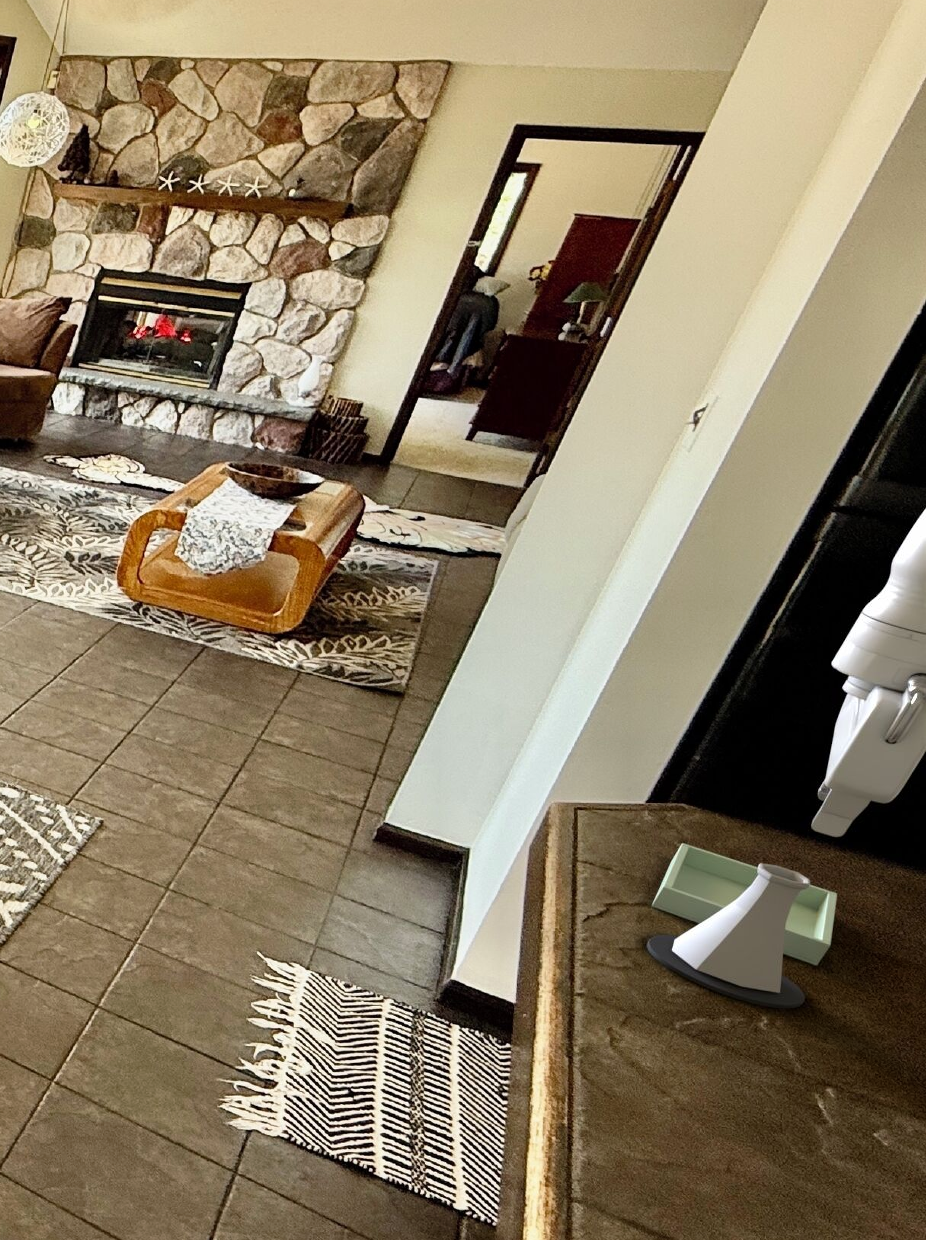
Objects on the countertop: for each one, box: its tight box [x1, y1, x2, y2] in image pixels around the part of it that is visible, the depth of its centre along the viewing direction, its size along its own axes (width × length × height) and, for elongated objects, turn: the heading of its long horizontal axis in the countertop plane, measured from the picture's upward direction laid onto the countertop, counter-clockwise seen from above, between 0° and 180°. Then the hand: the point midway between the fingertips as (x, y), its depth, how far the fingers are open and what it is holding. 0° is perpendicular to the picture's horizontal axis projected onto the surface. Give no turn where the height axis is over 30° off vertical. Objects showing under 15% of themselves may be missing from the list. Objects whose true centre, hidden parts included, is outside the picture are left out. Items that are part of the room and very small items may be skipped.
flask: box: [672, 863, 811, 993], centre depth 100 cm, size 7×7×10 cm
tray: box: [651, 843, 838, 966], centre depth 112 cm, size 15×11×2 cm
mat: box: [646, 934, 806, 1010], centre depth 102 cm, size 10×10×1 cm
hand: (827, 815), depth 95 cm, fingers open, 8 cm apart
